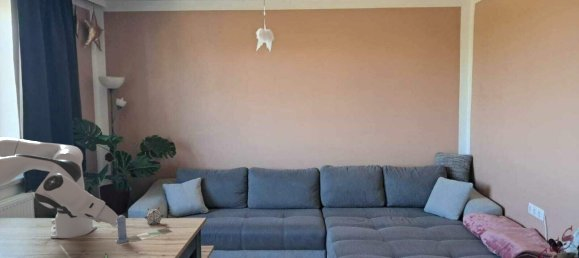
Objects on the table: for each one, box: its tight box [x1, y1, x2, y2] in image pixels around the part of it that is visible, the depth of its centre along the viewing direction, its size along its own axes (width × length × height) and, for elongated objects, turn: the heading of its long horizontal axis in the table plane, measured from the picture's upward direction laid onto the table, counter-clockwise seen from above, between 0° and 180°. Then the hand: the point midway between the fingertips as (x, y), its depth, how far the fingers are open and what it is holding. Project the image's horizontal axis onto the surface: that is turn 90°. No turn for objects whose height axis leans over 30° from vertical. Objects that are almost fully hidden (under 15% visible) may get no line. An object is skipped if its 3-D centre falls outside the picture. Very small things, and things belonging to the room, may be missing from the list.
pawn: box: [116, 214, 129, 245], centre depth 171 cm, size 4×4×11 cm
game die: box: [144, 207, 164, 225], centre depth 194 cm, size 9×8×10 cm
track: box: [114, 227, 173, 246], centre depth 178 cm, size 7×22×1 cm, turn 130°
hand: (107, 222), depth 164 cm, fingers open, 8 cm apart
